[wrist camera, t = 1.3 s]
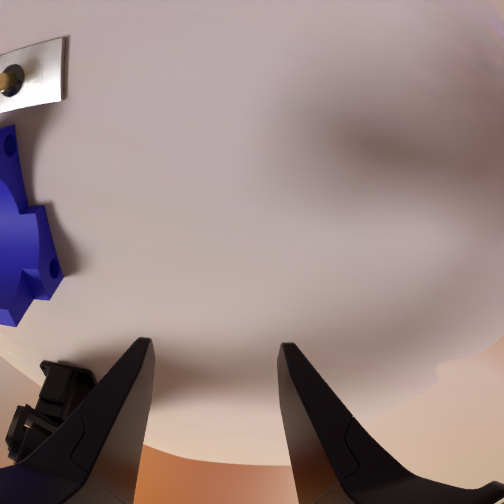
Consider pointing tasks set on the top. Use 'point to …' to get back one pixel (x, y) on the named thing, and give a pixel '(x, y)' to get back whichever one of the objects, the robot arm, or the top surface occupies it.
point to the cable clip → (22, 240)
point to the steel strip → (32, 75)
